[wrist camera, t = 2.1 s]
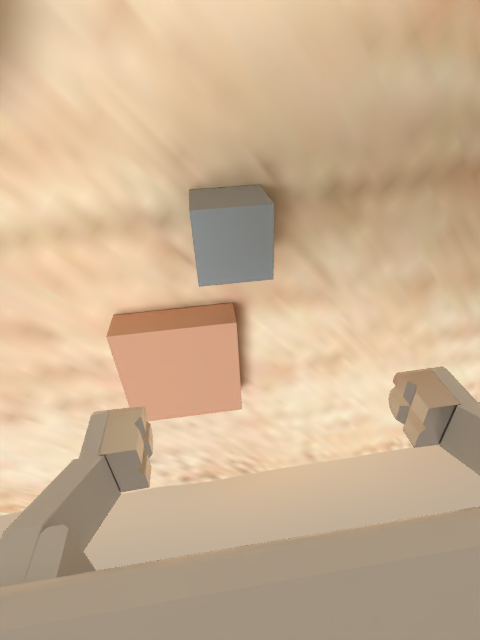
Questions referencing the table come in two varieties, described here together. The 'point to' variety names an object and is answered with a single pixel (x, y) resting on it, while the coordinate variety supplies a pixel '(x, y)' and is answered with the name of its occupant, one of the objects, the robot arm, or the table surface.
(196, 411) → the pedestal
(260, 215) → the cube
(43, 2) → the table surface
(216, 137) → the table surface
